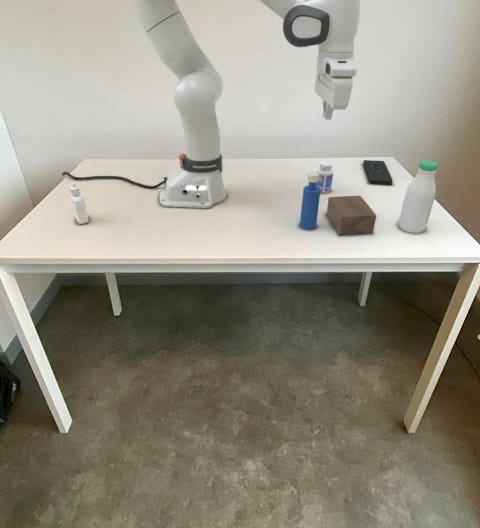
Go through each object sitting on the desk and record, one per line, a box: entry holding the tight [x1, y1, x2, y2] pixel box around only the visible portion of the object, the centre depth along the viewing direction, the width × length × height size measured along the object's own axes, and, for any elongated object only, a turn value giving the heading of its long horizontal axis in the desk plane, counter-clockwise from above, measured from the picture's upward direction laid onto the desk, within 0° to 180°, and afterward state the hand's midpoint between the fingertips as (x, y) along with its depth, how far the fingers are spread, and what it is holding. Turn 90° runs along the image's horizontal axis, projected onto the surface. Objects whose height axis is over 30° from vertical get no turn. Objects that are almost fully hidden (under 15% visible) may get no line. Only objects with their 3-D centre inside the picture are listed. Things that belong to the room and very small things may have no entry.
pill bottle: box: [316, 161, 334, 194], centre depth 139 cm, size 5×5×10 cm
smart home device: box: [362, 159, 394, 186], centre depth 153 cm, size 8×2×20 cm
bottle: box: [299, 171, 321, 231], centre depth 117 cm, size 14×5×15 cm
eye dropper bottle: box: [69, 182, 89, 225], centre depth 120 cm, size 4×6×12 cm
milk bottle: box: [397, 159, 439, 234], centre depth 115 cm, size 8×8×20 cm
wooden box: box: [326, 195, 377, 236], centre depth 120 cm, size 10×13×6 cm
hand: (326, 118), depth 112 cm, fingers closed
